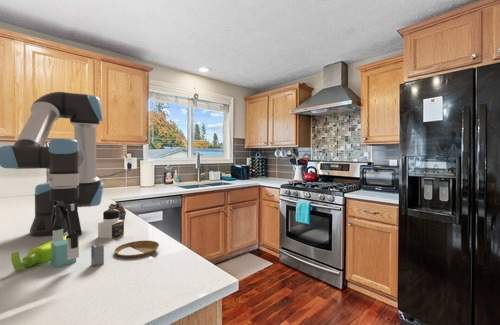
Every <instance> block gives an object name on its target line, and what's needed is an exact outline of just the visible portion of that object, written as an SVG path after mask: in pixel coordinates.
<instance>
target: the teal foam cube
mask: <svg viewBox="0 0 500 325" xmlns="http://www.w3.org/2000/svg"><path fill="white" fill-rule="evenodd" d="M76 262H77V258H74V259H71V260H67V239H65V240H61V241H56V242H51V260H50V264H51V265H53V266H54V267H55V268H60V267H64V266H67V265H70V264H74V263H76Z"/></svg>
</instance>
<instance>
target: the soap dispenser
mask: <svg viewBox="0 0 500 325" xmlns="http://www.w3.org/2000/svg"><path fill="white" fill-rule="evenodd" d="M66 236H68V234H65V235H64V234H63V240H65V239H66ZM51 242H53V239H51V240H50V241H47V242H45V243H42V244H40V245H38V246H36V247H33V248H32V249H30V250H29V251H28V253H27V255H26V256H24V257H23V258H22V259H21V258H20V253H19V252H18V251H17V252H14V253H11V254H10V256H11V257H10V259H11V264H12V267H13V269H14V272H19V271H23V270H25V268H24V267H26V268H30V267H32V266H34V265H35V264H43V263H47V262H49V261H51Z"/></svg>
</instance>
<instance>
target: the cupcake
mask: <svg viewBox="0 0 500 325" xmlns="http://www.w3.org/2000/svg"><path fill="white" fill-rule="evenodd" d="M107 210H118V211H119V219H118V220H124V221H125V219H126V214H127V211H126V209H125V207H124V206H123V204H121V203H118V202H116V203H111V204H110V205H108V209H107Z"/></svg>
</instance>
